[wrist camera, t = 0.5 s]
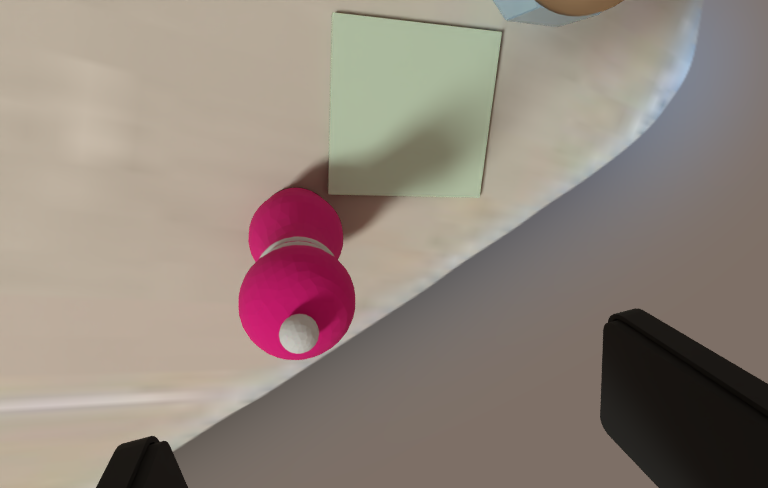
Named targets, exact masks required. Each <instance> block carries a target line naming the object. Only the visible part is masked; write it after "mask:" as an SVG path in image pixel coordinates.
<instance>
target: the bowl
mask: <svg viewBox="0 0 768 488" xmlns="http://www.w3.org/2000/svg"><path fill="white" fill-rule="evenodd" d="M493 1H494V2H495V4H496V5H497V7H498V9H499V10H500V12H501V14H502V15H503V17H504V18H505V20H506V19H507V21H513V22H521V23H529V24H537V25H546V26H554V27H559V26H563V25H566V24H569V23H573V22H576V21H579V20H583V19H586V18H589V17H593V16H596V15H599V14H600V13H601V12H602V11H601V12H598V13H594V14H591V15H587V16H578V17H577V16H565V15H560V14H557V13H554V12H552V11H549V10H548V9H546V8H544V7H543V6H541V5H539V4H538V3H537V2H536V1H535V0H493Z"/></svg>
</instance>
